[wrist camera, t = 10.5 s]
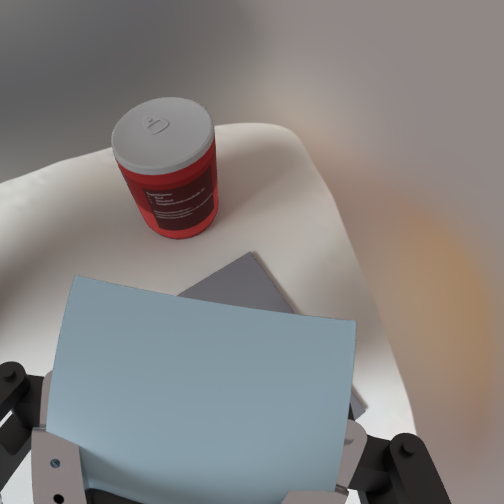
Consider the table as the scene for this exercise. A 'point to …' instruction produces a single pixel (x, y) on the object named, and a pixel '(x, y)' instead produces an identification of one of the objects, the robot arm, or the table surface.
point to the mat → (247, 294)
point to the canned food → (169, 164)
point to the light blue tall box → (199, 396)
